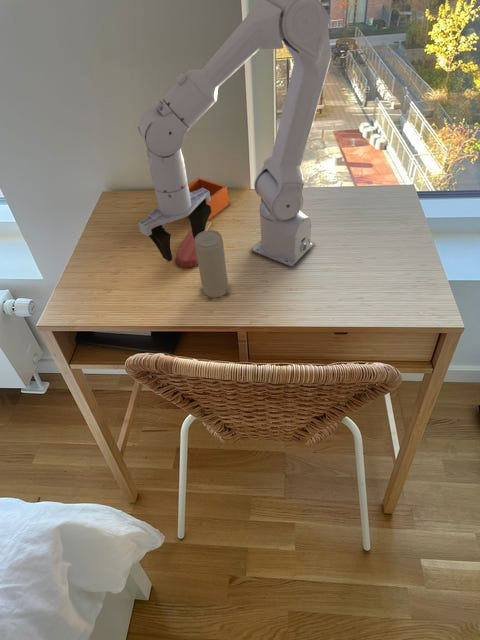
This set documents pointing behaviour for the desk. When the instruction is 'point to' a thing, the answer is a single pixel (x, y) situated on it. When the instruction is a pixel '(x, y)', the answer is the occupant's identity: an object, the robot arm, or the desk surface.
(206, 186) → the orange open box
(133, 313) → the desk surface
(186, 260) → the popsicle
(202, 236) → the beverage can
